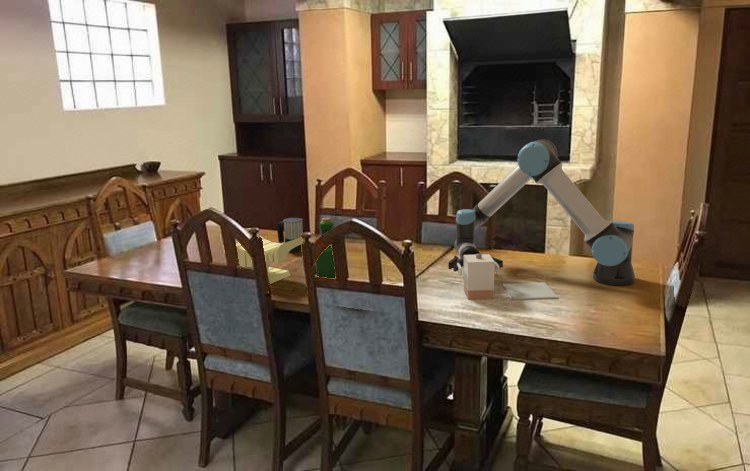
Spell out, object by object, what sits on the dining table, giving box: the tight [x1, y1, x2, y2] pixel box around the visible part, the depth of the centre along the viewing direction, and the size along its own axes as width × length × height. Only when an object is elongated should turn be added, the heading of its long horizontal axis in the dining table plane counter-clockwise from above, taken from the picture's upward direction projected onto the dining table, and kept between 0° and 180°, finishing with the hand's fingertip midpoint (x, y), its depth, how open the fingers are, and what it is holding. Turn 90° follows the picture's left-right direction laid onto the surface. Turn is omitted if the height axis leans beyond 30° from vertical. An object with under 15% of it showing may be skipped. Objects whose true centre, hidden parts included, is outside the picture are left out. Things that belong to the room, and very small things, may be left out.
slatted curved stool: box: [221, 227, 303, 285], centre depth 244 cm, size 30×16×18 cm, turn 56°
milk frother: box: [276, 217, 304, 253], centre depth 283 cm, size 14×16×15 cm
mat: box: [502, 281, 559, 301], centre depth 223 cm, size 16×16×1 cm
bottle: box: [314, 217, 335, 278], centre depth 227 cm, size 11×11×28 cm
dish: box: [463, 283, 494, 301], centre depth 220 cm, size 9×9×4 cm
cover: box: [462, 253, 495, 291], centre depth 219 cm, size 9×9×13 cm
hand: (479, 271), depth 216 cm, fingers open, 13 cm apart
